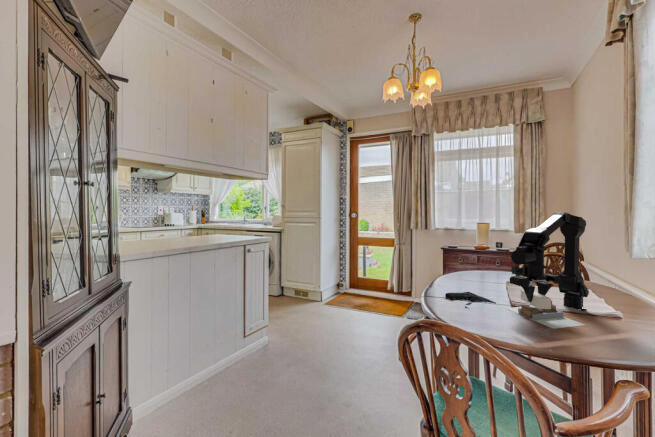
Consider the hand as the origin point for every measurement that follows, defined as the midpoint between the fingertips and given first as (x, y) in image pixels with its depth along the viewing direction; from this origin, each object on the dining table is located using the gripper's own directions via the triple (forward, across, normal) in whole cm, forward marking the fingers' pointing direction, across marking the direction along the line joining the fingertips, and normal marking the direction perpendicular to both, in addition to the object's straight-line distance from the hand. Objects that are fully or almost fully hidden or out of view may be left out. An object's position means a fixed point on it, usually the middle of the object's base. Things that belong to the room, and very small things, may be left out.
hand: (535, 301), depth 118 cm
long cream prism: (+1, 0, 0) cm, 1 cm away
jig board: (+7, -2, +1) cm, 7 cm away
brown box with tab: (+6, -2, 0) cm, 6 cm away
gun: (+8, +11, -23) cm, 27 cm away
